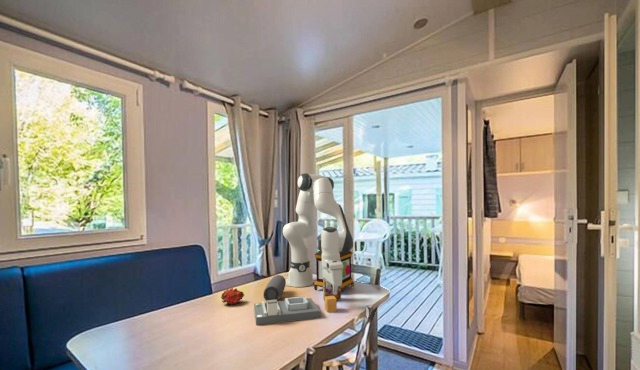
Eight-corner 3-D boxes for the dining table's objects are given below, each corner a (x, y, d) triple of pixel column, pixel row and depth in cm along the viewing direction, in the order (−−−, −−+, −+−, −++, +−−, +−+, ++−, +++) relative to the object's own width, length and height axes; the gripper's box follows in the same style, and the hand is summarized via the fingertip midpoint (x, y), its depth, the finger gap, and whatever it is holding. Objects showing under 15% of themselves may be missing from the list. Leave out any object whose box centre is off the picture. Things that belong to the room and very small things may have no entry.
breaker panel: (254, 310, 144) (254, 298, 144) (310, 304, 151) (310, 293, 152) (256, 325, 127) (256, 311, 127) (320, 317, 134) (320, 304, 134)
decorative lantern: (357, 287, 180) (356, 236, 181) (341, 296, 163) (340, 240, 164) (328, 282, 190) (327, 234, 192) (310, 290, 173) (310, 238, 175)
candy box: (324, 301, 155) (323, 271, 155) (322, 299, 159) (322, 269, 160) (341, 300, 156) (340, 270, 157) (339, 298, 160) (339, 269, 161)
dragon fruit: (218, 308, 151) (242, 307, 157) (222, 302, 146) (247, 301, 151) (219, 291, 157) (242, 291, 162) (223, 285, 151) (246, 285, 157)
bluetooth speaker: (281, 305, 150) (280, 285, 151) (262, 305, 150) (262, 285, 151) (287, 291, 173) (286, 273, 173) (270, 291, 173) (270, 274, 174)
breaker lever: (267, 313, 132) (267, 300, 132) (276, 312, 133) (276, 299, 133) (267, 315, 129) (267, 302, 129) (277, 314, 130) (277, 301, 130)
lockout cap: (324, 309, 144) (324, 296, 144) (333, 308, 145) (333, 295, 146) (327, 312, 140) (327, 299, 140) (336, 311, 141) (336, 298, 141)
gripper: (318, 258, 153) (319, 286, 152) (330, 266, 133) (331, 298, 132) (330, 257, 154) (331, 285, 154) (344, 265, 135) (345, 296, 134)
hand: (331, 291), depth 143 cm, fingers open, 8 cm apart
